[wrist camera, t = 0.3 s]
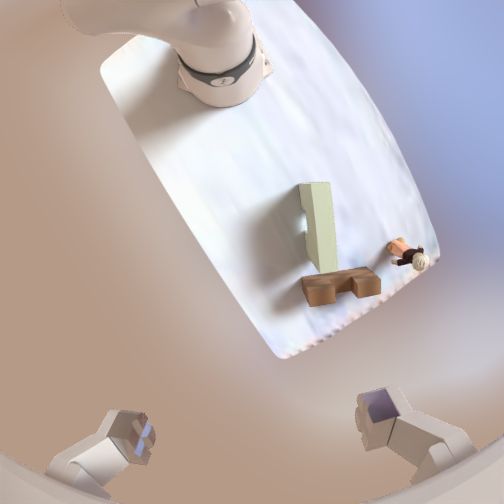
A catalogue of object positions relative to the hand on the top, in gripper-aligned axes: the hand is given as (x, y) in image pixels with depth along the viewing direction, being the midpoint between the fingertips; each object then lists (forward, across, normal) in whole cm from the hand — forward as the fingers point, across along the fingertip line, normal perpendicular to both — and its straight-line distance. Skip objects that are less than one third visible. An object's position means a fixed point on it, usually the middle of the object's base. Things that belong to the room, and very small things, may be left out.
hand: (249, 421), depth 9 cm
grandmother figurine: (+46, -29, +8) cm, 55 cm away
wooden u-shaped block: (+46, -15, +13) cm, 50 cm away
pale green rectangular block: (+46, -11, 0) cm, 47 cm away
